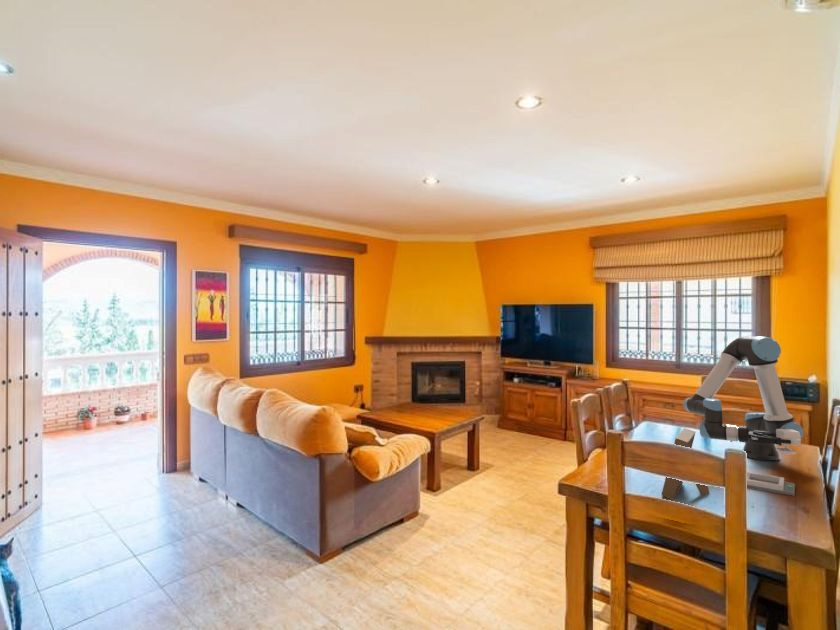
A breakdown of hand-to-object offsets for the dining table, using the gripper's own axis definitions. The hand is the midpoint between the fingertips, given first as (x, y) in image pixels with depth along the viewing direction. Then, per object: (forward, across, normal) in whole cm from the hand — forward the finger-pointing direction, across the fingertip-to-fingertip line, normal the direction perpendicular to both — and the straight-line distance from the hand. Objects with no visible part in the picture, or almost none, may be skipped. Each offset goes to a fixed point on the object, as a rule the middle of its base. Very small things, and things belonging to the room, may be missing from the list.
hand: (800, 440), depth 193 cm
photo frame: (-37, +47, -18) cm, 62 cm away
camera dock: (-13, +17, -18) cm, 28 cm away
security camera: (-5, 0, -6) cm, 8 cm away
